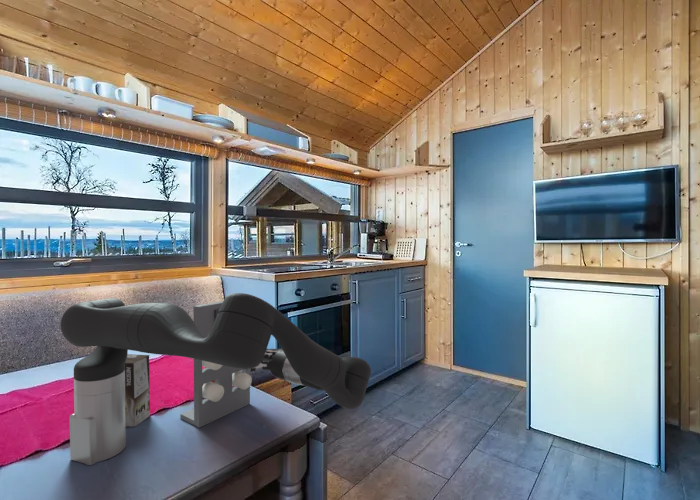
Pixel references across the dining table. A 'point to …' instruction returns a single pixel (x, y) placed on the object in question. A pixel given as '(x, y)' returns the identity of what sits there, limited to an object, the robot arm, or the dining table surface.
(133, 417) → the coffee box
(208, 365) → the button top left
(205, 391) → the button bottom left
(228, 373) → the button panel
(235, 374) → the button bottom right
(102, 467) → the dining table surface
